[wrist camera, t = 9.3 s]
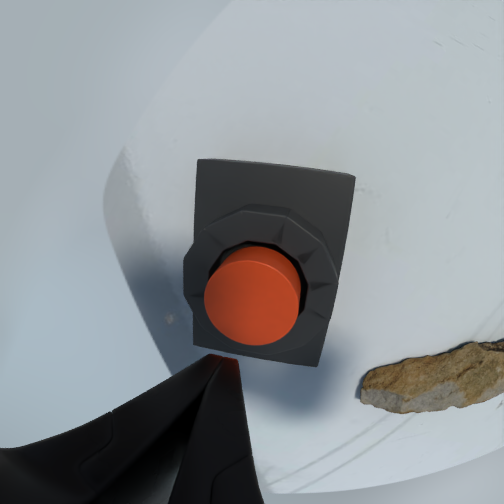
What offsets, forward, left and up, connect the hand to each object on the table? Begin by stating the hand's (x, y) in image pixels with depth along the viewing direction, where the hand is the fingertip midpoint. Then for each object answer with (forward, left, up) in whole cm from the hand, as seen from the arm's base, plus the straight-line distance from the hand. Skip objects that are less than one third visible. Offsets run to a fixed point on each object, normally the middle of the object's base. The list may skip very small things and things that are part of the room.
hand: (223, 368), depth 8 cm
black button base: (0, 0, -9) cm, 9 cm away
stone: (+13, -6, -9) cm, 17 cm away
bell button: (0, 0, -5) cm, 5 cm away
